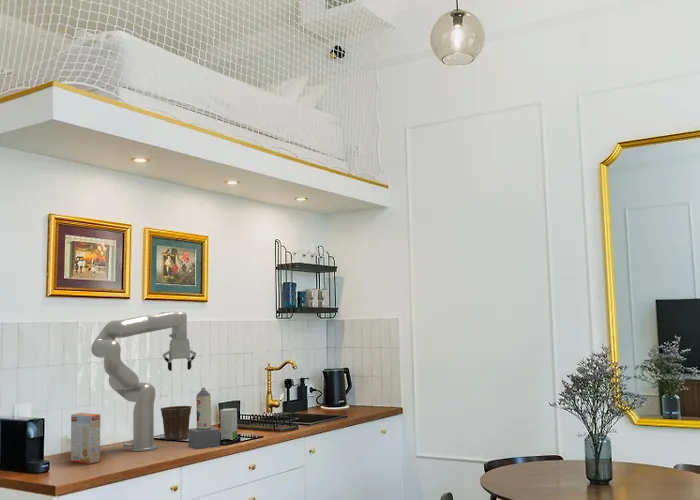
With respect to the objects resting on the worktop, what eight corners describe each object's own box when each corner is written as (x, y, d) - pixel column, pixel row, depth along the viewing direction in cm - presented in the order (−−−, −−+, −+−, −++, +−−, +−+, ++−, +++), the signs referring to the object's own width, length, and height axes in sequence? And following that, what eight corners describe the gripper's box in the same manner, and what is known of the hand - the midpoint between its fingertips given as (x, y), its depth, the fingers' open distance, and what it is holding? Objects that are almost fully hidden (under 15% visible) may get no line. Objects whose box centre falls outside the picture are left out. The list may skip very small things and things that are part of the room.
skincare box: (232, 441, 358) (231, 409, 360) (219, 441, 360) (219, 410, 361) (237, 438, 366) (237, 407, 368) (225, 438, 368) (225, 408, 369)
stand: (195, 449, 339) (195, 431, 339) (188, 445, 349) (188, 429, 350) (220, 446, 344) (219, 429, 345) (212, 442, 355) (212, 426, 356)
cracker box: (101, 462, 312) (101, 413, 314) (88, 464, 307) (89, 415, 309) (82, 459, 320) (82, 412, 322) (70, 461, 315) (70, 414, 317)
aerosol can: (195, 428, 349) (195, 387, 351) (209, 427, 352) (208, 386, 354) (198, 430, 343) (197, 388, 345) (212, 429, 346) (211, 387, 348)
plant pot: (154, 439, 373) (154, 408, 374) (180, 435, 384) (180, 404, 386) (171, 442, 362) (171, 409, 363) (198, 437, 373) (197, 406, 375)
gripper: (164, 337, 357) (164, 371, 355) (198, 335, 365) (198, 369, 364) (160, 337, 364) (160, 370, 362) (193, 335, 372) (194, 368, 370)
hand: (179, 370), depth 363 cm, fingers open, 9 cm apart
